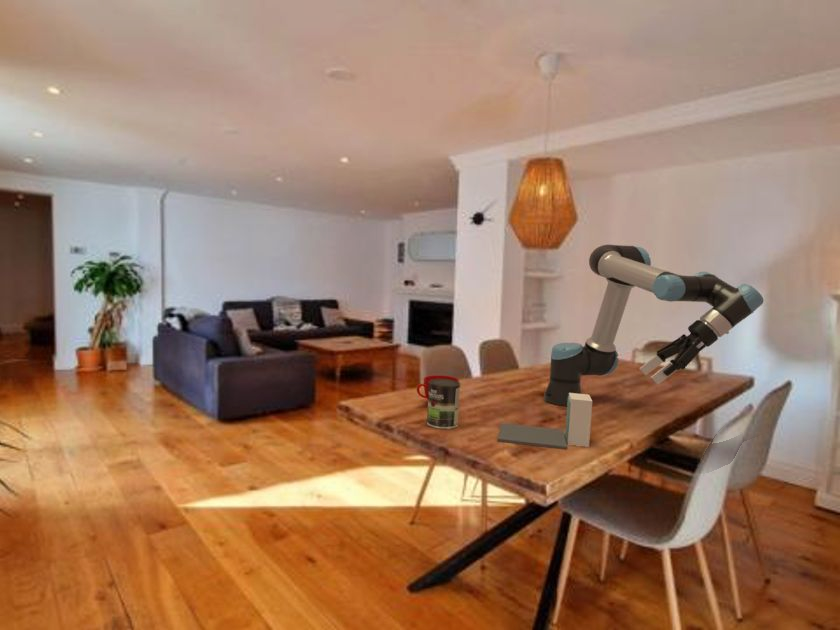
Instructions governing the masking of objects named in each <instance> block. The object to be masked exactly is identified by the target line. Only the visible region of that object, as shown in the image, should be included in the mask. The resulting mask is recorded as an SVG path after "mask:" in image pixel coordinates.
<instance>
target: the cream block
mask: <svg viewBox="0 0 840 630" xmlns="http://www.w3.org/2000/svg"><path fill="white" fill-rule="evenodd" d="M592 410H593V400H592V398H591V396H590V394H586V393H582V394H577V393H569V396H568V401H567V406H566V417H565V431H564V434H565V439H566V443H567V446H572V445H576V446H575V447H581V446H585V447H584V448H589V447H590V439H591V423H592V413H593V412H592Z"/></svg>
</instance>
